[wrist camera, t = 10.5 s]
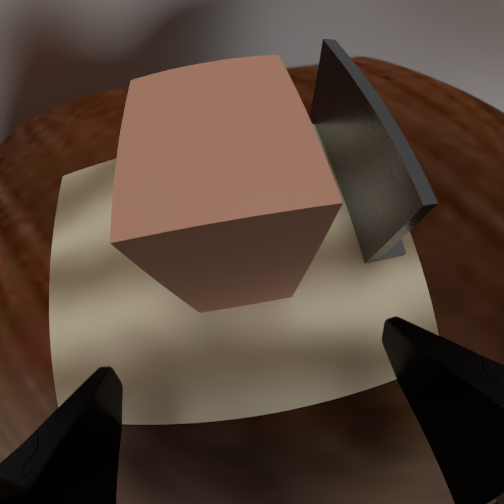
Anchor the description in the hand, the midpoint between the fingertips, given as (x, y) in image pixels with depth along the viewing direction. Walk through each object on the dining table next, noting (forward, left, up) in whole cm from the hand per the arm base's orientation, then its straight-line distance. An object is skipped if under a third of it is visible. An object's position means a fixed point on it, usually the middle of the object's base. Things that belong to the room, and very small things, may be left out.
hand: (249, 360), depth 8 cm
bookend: (+10, -8, -6) cm, 14 cm away
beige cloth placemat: (+6, +1, -7) cm, 9 cm away
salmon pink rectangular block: (+6, 0, -6) cm, 9 cm away
